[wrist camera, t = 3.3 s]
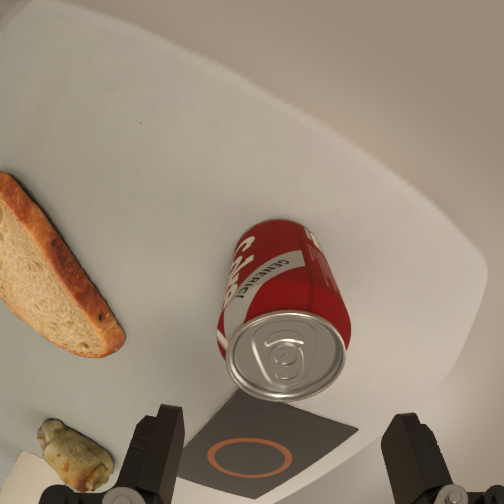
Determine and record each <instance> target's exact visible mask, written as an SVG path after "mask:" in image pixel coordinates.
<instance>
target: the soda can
mask: <svg viewBox="0 0 504 504" xmlns="http://www.w3.org/2000/svg"><path fill="white" fill-rule="evenodd" d="M350 337H351V323H350V318H349V315H348V312H347V310H346V307H345V304H344V302H343V299H342V297H341V294H340V292H339V289H338V287H337V284H336V282H335V279H334V277H333V274H332V272H331V270H330V267H329V265H328V262H327V260H326V258H325V255H324V253H323V250H322V248H321V246H320V243H319V242H318V240H317V238H316V237H315V235H314V234H313V233H312V232H311V231H310V230H309V229H307V228H306V227H304V226H303V225H301V224H299V223H297V222H294V221H290V220H285V219H273V220H268V221H264V222H261V223H259V224H257V225H255V226H253V227H252V228H251V229H249V230H248V231H247V232H246V233H245V234H244V235H243V236H242V238H241V239H240V240H239V242H238V244H237V246H236V249H235V253H234V257H233V261H232V265H231V270H230V274H229V278H228V283H227V287H226V291H225V296H224V300H223V304H222V309H221V313H220V318H219V322H218V327H217V342H218V346H219V350H220V352H221V354H222V356H223V358H224V360H225V361H226V367H227V371H228V373H229V375H230V377H231V379H232V380H233V381H234V383H235V384H236V385H237V386H238V387H239V388H241V389H242V390H243V391H245V392H246V393H248V394H250V395H252V396H254V397H256V398H259V399H263V400H267V401H273V402H292V401H299V400H303V399H306V398H309V397H312V396H314V395H316V394H318V393H320V392H322V391H323V390H325V389H326V388H328V387H329V386H330V385H331V384H332V383H333V382H334V381H335V380H336V379H337V378H338V376H339V375H340V373H341V371H342V369H343V367H344V364H345V359H346V350H347V348H348V345H349V342H350Z"/></svg>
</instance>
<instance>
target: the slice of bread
mask: <svg viewBox="0 0 504 504" xmlns="http://www.w3.org/2000/svg"><path fill="white" fill-rule="evenodd" d="M0 297H1V298H2V299H3V301H4V302H5V304H6V305H7V306H8V307H9V308H10V310H12V312H13V313H14V314H15V315H16V316H17V317H18V318H20V319H21V320H23V321H25V322H27V323H28V324H29V325H30V326H31V327H33V328H34V329H35V330H36V331H38V332H39V333H40V334H41V335H42V336H43V337H44V338H46V339H47V340H49V341H50V342H52V343H53V344H55V345H56V346H58V347H60V348H62V349H65V350H67V351H69V352H71V353H73V354H75V355H78V356H83V357H88V358H103V357H105V356H108V355H110V354H112V353H114V352H116V351H118V350H119V349H120V348H121V347H122V345H123V343H124V341H125V335H124V332H123V330H122V328H121V326H120V325H119V324H118V323H117V322H116V320H115V317H114V315H113V314H112V312H111V311H110V310H109V308H108V305H107V303H106V301H105V300H104V299H103V298H102V297H101V296H100V295H99V293H98V291H97V289H96V287H95V286H94V284H92V283H91V282H90V281H89V280H88V278H87V276H86V275H85V273H84V271H83V270H82V268H81V267H80V266H79V265H78V264H77V262H76V260H75V258H74V257H73V255H72V254H71V252H70V251H69V249H68V248H67V246H66V245H65V244H64V242H63V241H62V239H61V238H60V236H59V234H58V233H57V231H56V230H55V229H54V228H53V226H52V225H51V224H50V222H49V220H48V219H47V217H46V216H45V214H44V213H43V212H42V211H41V209H40V208H39V207H38V206H37V205H36V204H35V203H34V202H33V201H32V200H31V199H30V198H29V196H28V195H27V194H26V193H25V192H24V191H23V189H22V188H21V187H20V185H19V184H18V183H17V182H16V181H15V179H14V178H12V177H11V176H10V175H9V174H7V173H4V172H0Z"/></svg>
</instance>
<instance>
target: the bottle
mask: <svg viewBox="0 0 504 504" xmlns="http://www.w3.org/2000/svg"><path fill="white" fill-rule="evenodd" d="M64 483H65V482H63V481H62V480H61V479H60V477H59V475H58V473H57V472H56V471H55V470H54V469H53V468H51V466H49V465H48V463H47V462H46V461H45V460H43V459H41V458H40V457H38V456H36V455H34V454H32V453H29V452H26V451H22V452H21V454H20V455H19V457H18V459H17V461H16V462H15V464H14V466H13V468H12V469H11V471H10V473H9V475H8V477H7V478H6V480H5V482H4V484H3V486H2V487H1V489H0V504H38V503H39V500H40V497H41V495H42V493H43V491H44V490H45V489H46V488H47V487H49V486H51V485H56V484H59V485H64Z"/></svg>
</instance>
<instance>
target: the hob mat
mask: <svg viewBox="0 0 504 504" xmlns="http://www.w3.org/2000/svg"><path fill="white" fill-rule="evenodd" d="M357 431H358V428H354V427H351V426H348V425H345V424H341V423H338V422H335V421H332V420H329V419H326V418H323V417H320V416H317V415H314V414H311V413H308V412H306V411H303V410H300V409H297V408H294V407H292V406H289V405H286V404H284V403H281V402H273V401H267V400H263V399H259V398H256V397H254V396H252V395H250V394H248V393H246V392H245V391H243V390H242V389H241V388H239V389H238V391H237V392H236V393H235V394H234V395H233V396H232V397H231V398H230V400H229V401H228V402H227V403H226V404H225V405H224V406H223V407H222V408H221V409H220V411H219V412H218V413H217V414H216V415H215V416H214V417H213V418H212V419H211V420H210V421H209V422H208V424H207V425H206V426H205V427H204V428H203V429H202V430H201V431H200V432H199V433H198V434H197V435H196V436H195V437H194V438H193V439H192V440H191V442H190V443H189V444H188V445H187V446H186V447H185V448H184V449H183V450H182V454H181V458H180V463H179V467H178V472H177V477H180V478H183V479H186V480H189V481H191V482H194V483H197V484H201V485H204V486H207V487H210V488H213V489H217V490H220V491H224V492H227V493H231V494H235V495H239V496H243V497H247V498H251V499H257V498H258V497H260V496H262V495H264V494H266V493H267V492H269V491H271V490H272V489H274V488H276V487H278V486H279V485H281V484H283V483H284V482H286V481H287V480H289V479H291V478H292V477H294V476H295V475H297V474H298V473H300V472H302V471H303V470H305V469H306V468H308V467H309V466H311V465H312V464H314V463H315V462H316V461H318V460H319V459H321V458H322V457H324V456H325V455H326V454H328V453H329V452H331V451H332V450H333V449H335V448H336V447H337V446H339V445H340V444H341V443H343V442H344V441H345V440H347V439H348V438H349V437H351V436H352V435H353V434H354V433H356V432H357Z"/></svg>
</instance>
